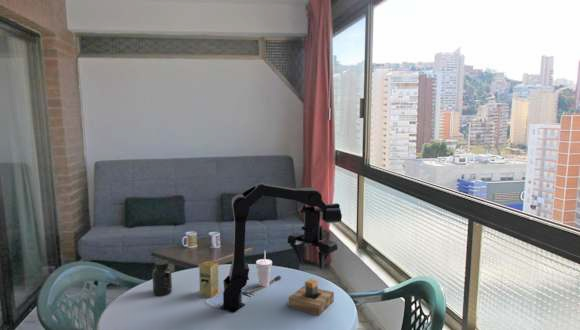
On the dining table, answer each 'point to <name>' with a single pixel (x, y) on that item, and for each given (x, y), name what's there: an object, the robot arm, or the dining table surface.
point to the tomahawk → (260, 287)
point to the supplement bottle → (162, 279)
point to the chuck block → (311, 301)
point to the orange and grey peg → (311, 288)
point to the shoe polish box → (208, 278)
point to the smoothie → (264, 271)
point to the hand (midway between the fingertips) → (311, 265)
